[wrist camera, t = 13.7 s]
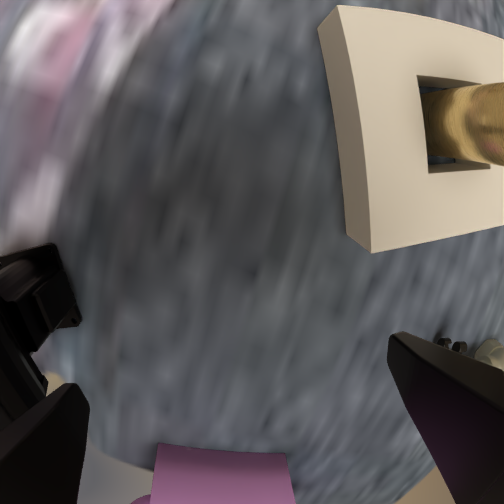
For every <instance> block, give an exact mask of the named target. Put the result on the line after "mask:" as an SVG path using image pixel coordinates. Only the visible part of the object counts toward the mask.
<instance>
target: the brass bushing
mask: <svg viewBox="0 0 504 504" xmlns="http://www.w3.org/2000/svg"><path fill="white" fill-rule="evenodd" d="M420 99H421V106H422V113H423V121H424V129H425V139H426V149H427V155H431V156H440V157H447V158H455V159H462V160H469V161H475V162H481V163H487V164H493V165H499V166H504V82H500V83H490V84H482V85H474V86H466V87H459V88H452V89H446V90H440V91H434V92H428V93H423V94H420Z"/></svg>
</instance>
